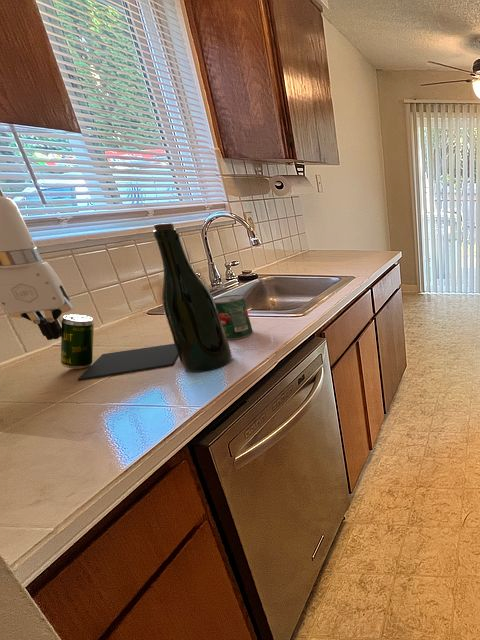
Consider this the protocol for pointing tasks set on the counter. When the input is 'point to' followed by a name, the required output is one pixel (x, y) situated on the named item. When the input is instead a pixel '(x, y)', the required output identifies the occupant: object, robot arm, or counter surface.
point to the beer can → (77, 341)
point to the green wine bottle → (189, 307)
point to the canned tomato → (234, 316)
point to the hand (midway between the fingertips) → (55, 337)
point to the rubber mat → (131, 361)
